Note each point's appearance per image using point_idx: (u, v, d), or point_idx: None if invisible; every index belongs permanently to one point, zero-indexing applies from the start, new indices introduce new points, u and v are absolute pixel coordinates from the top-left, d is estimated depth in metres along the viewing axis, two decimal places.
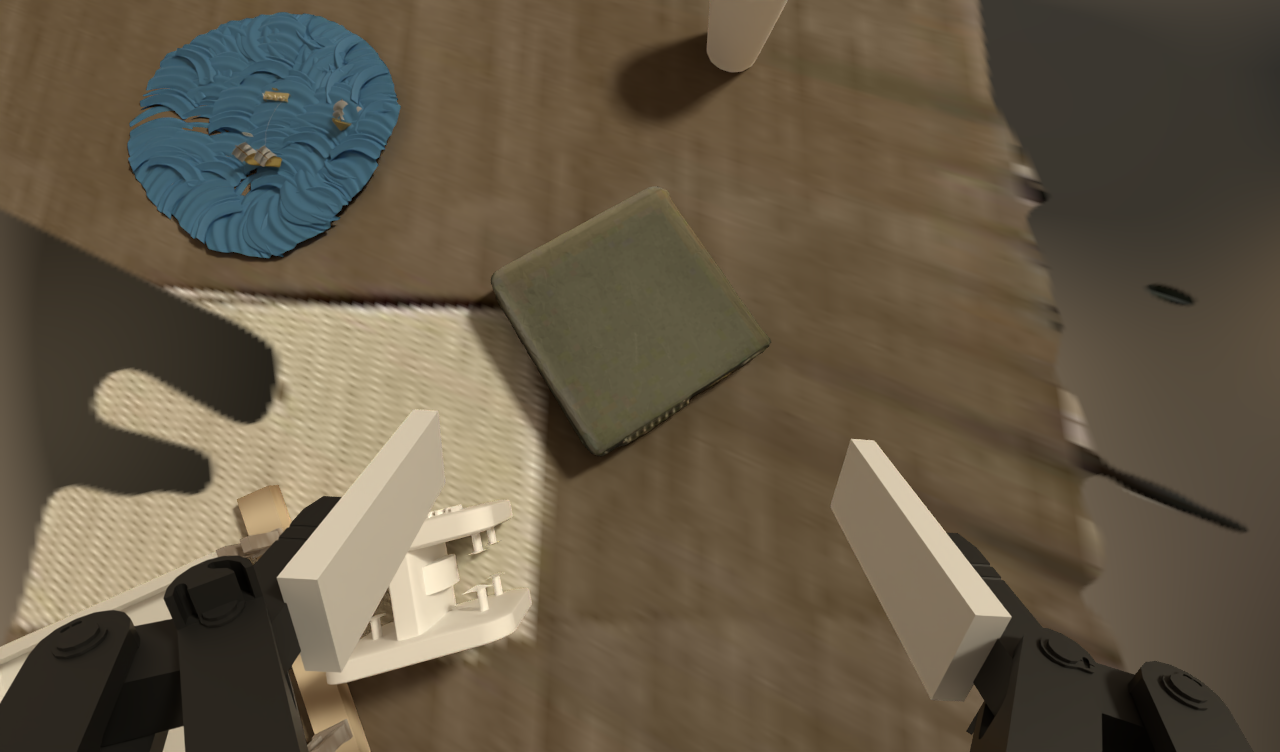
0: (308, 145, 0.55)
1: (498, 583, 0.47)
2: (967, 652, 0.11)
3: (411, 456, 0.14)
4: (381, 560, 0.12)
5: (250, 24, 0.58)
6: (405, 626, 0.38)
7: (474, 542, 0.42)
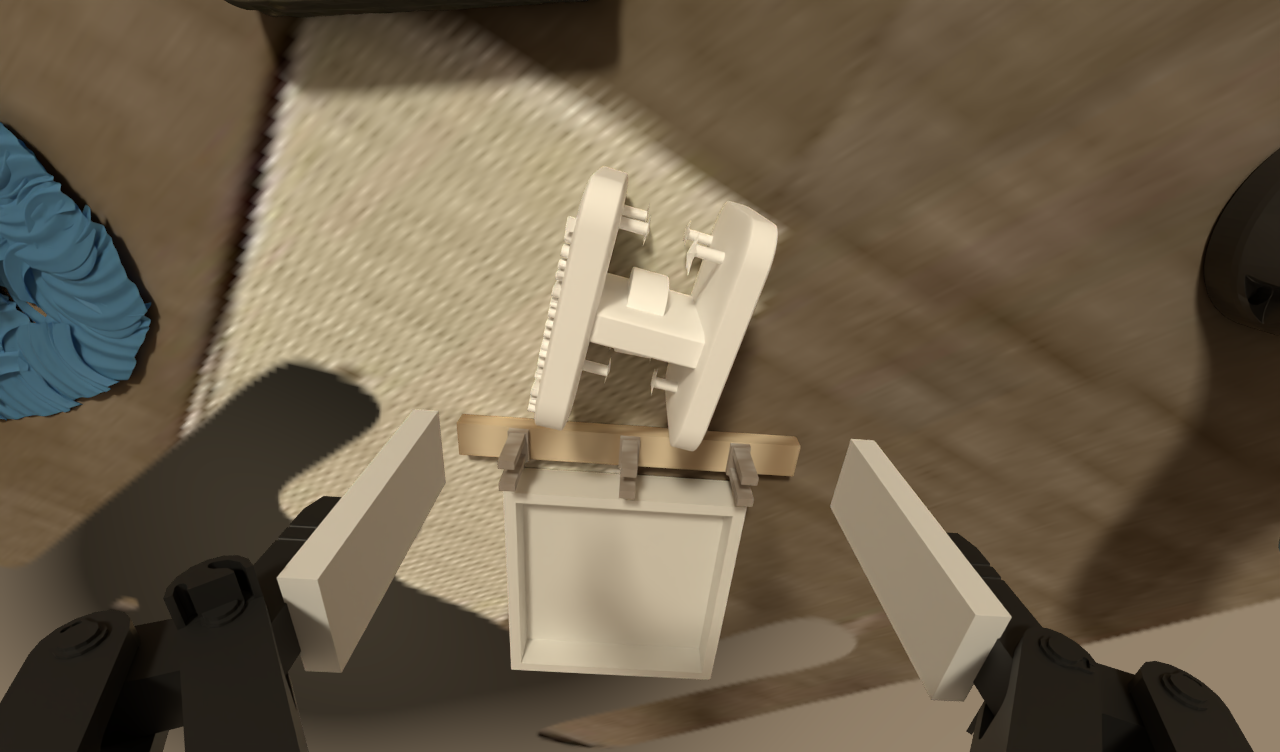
0: None
1: (698, 234, 0.33)
2: (967, 652, 0.11)
3: (411, 456, 0.14)
4: (381, 560, 0.12)
5: None
6: (684, 353, 0.28)
7: (632, 228, 0.28)
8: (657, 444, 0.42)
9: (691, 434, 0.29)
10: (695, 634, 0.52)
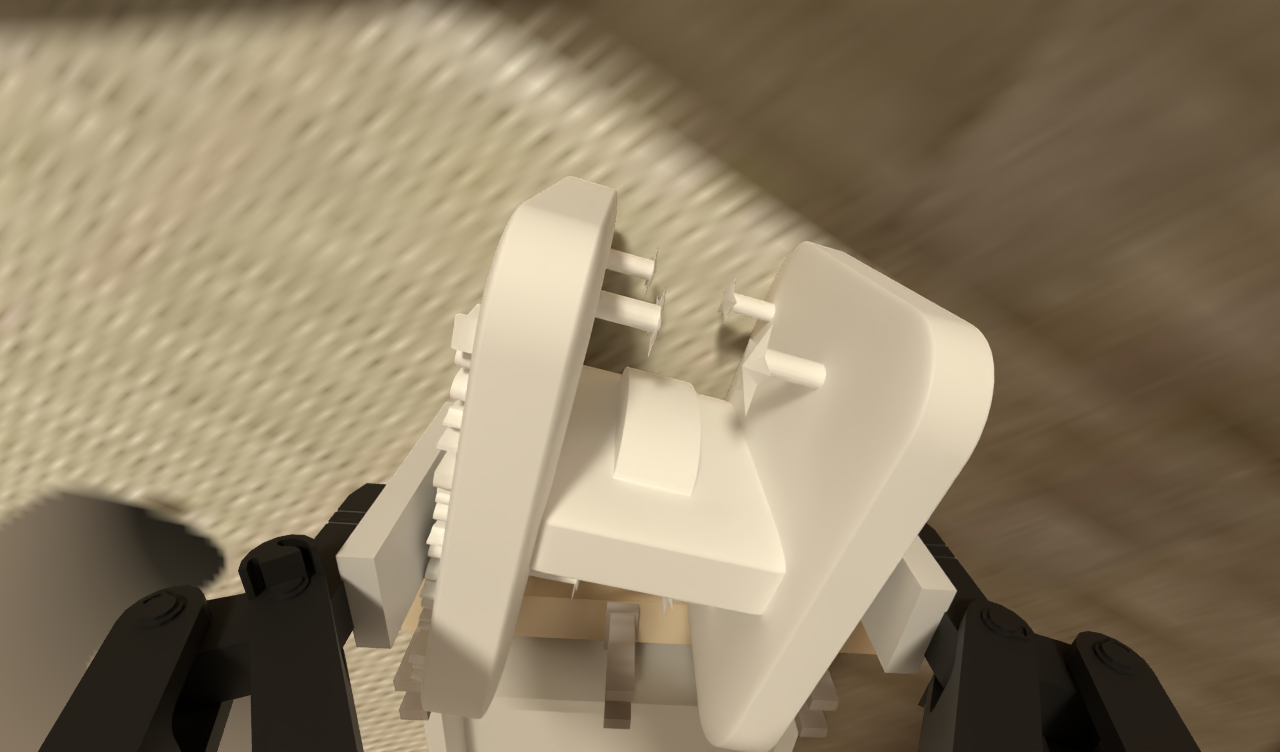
0: None
1: (749, 303, 0.18)
2: (917, 625, 0.11)
3: None
4: (423, 544, 0.13)
5: None
6: (740, 591, 0.13)
7: (624, 319, 0.12)
8: (666, 613, 0.26)
9: (750, 742, 0.14)
10: None
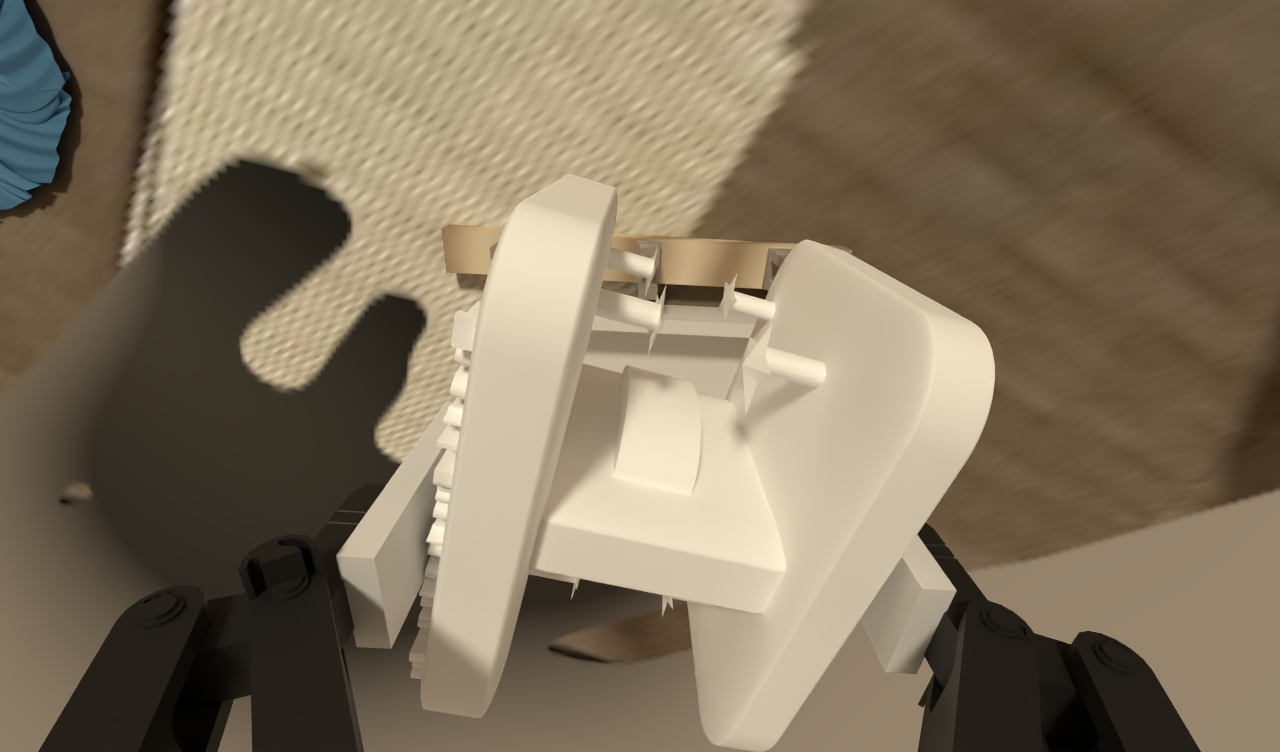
0: None
1: (749, 301, 0.18)
2: (916, 625, 0.11)
3: None
4: (423, 544, 0.13)
5: None
6: (740, 589, 0.13)
7: (624, 317, 0.12)
8: (681, 252, 0.35)
9: (750, 741, 0.14)
10: None
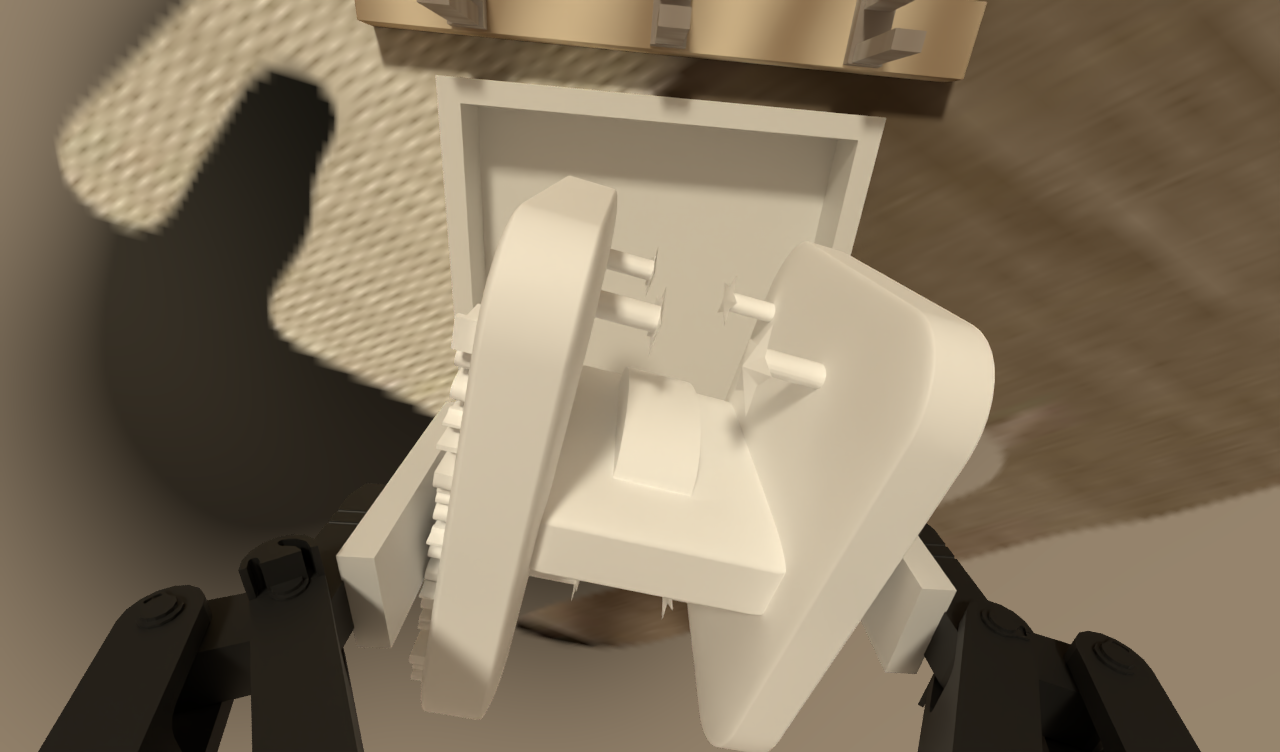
0: None
1: (749, 303, 0.18)
2: (916, 625, 0.11)
3: None
4: (423, 544, 0.13)
5: None
6: (740, 591, 0.13)
7: (624, 319, 0.12)
8: None
9: (750, 743, 0.14)
10: None
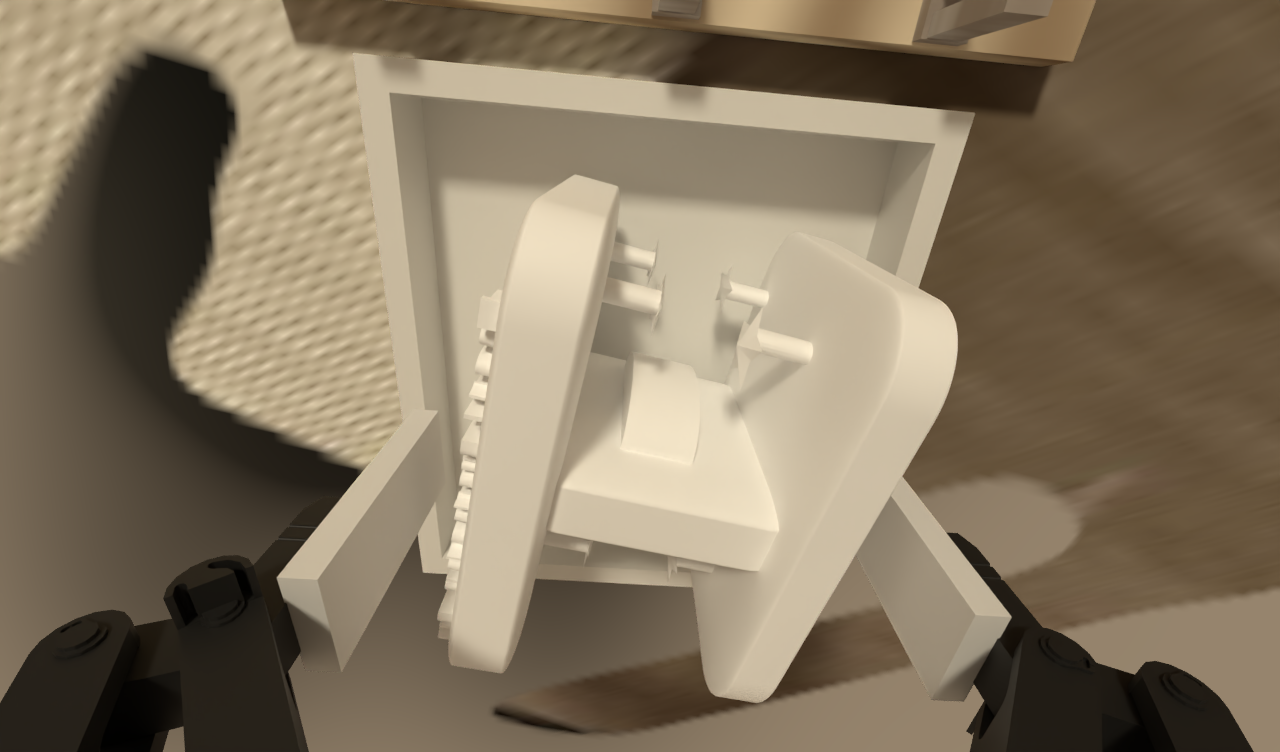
0: None
1: (744, 290, 0.19)
2: (967, 652, 0.11)
3: (411, 455, 0.14)
4: (381, 560, 0.12)
5: None
6: (738, 549, 0.14)
7: (628, 303, 0.14)
8: None
9: (749, 690, 0.15)
10: None
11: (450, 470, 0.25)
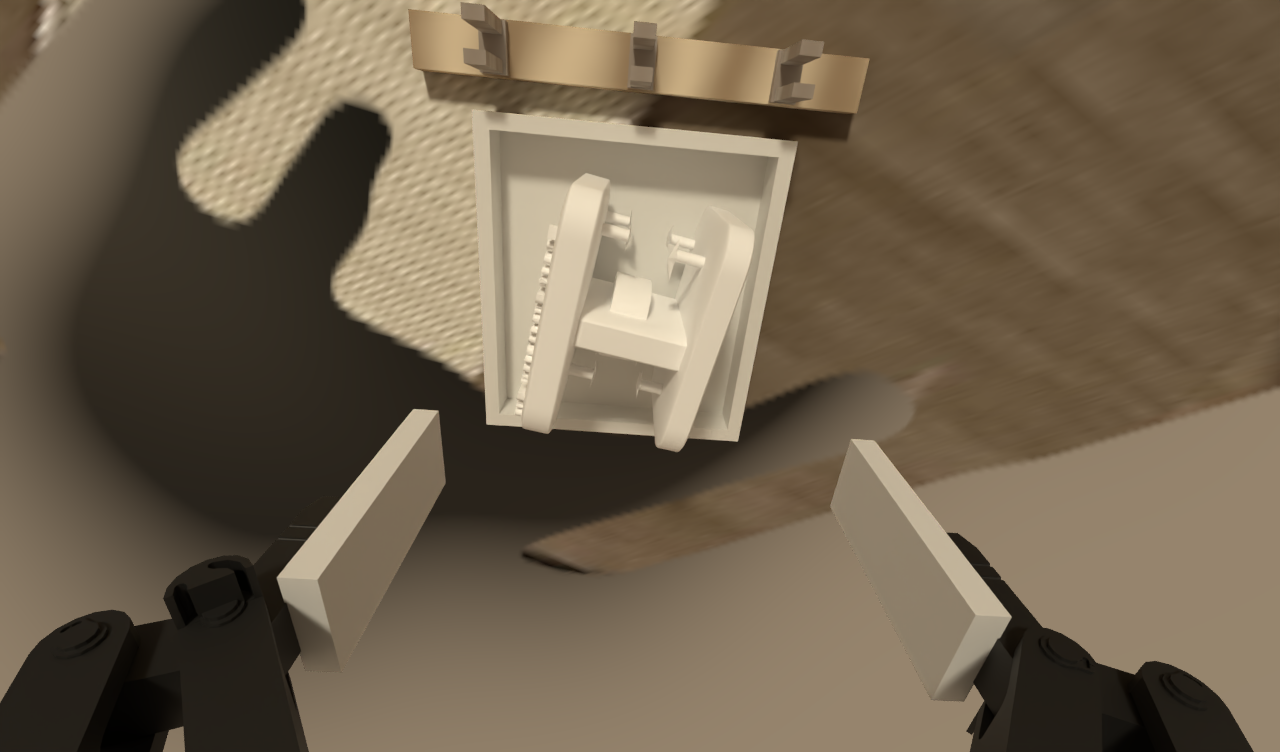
0: None
1: (680, 239, 0.34)
2: (967, 652, 0.11)
3: (411, 455, 0.14)
4: (381, 560, 0.12)
5: None
6: (667, 356, 0.29)
7: (613, 234, 0.29)
8: (680, 52, 0.31)
9: (675, 435, 0.30)
10: (718, 391, 0.42)
11: (504, 359, 0.40)
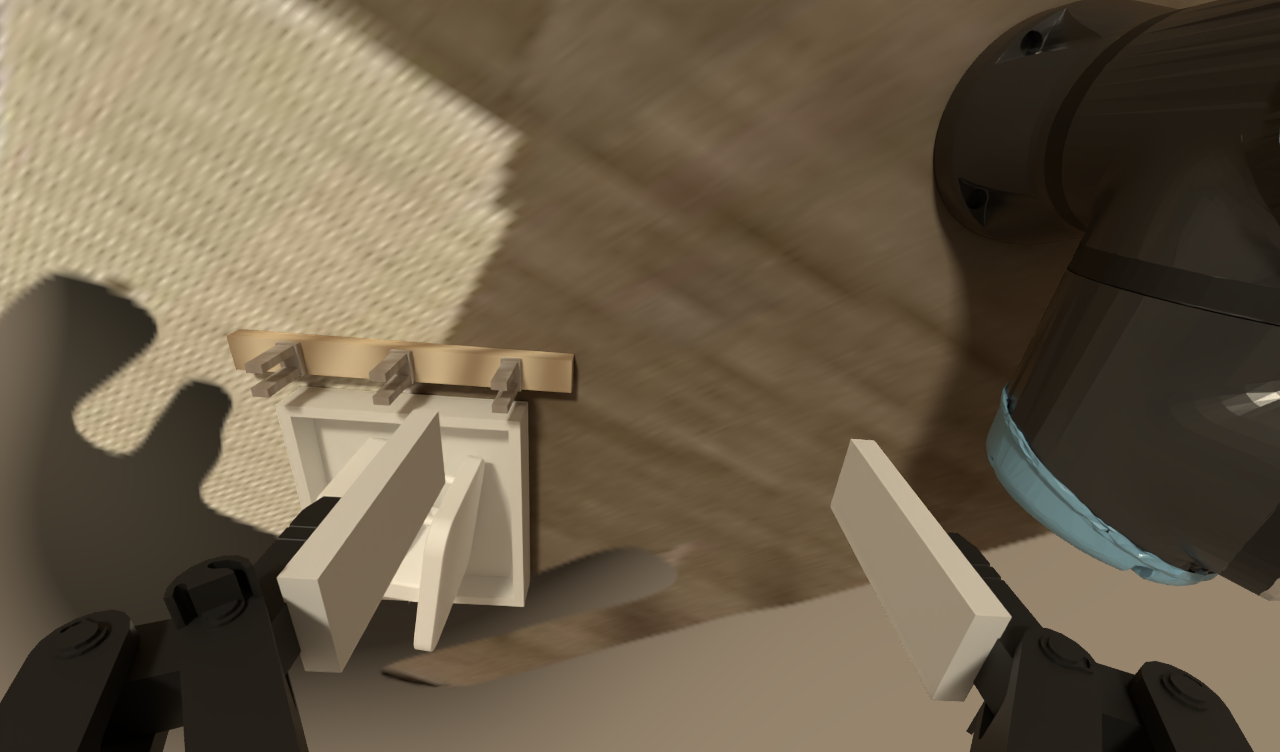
0: None
1: (447, 479, 0.45)
2: (967, 652, 0.11)
3: (411, 455, 0.14)
4: (381, 560, 0.12)
5: None
6: (408, 594, 0.40)
7: None
8: (430, 358, 0.42)
9: (421, 645, 0.41)
10: (512, 563, 0.53)
11: None
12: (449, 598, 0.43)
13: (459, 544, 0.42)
